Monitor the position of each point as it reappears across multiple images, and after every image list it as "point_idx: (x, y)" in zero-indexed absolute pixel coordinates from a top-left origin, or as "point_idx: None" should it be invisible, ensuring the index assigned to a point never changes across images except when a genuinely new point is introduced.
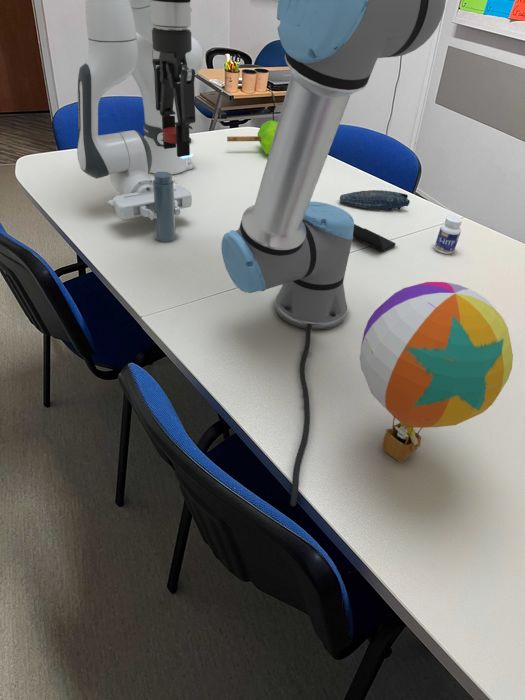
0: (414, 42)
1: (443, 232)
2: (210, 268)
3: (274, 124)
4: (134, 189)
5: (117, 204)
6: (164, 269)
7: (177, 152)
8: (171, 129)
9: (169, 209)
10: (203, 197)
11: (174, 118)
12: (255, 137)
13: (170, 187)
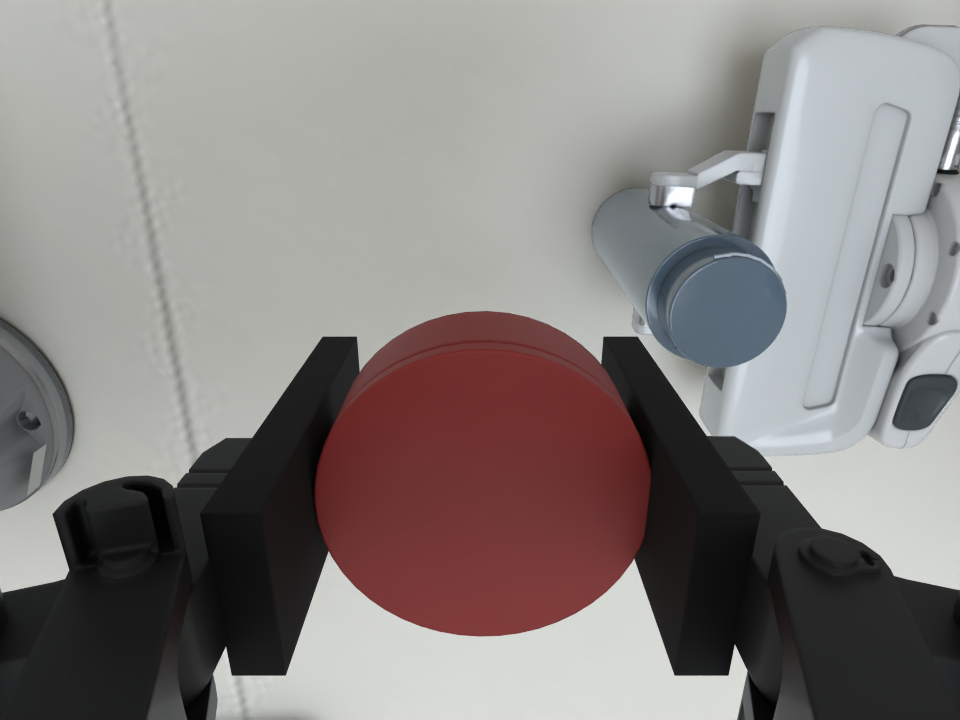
0: None
1: None
2: (321, 262)
3: None
4: (942, 207)
5: (846, 30)
6: (389, 90)
7: (338, 350)
8: (543, 482)
9: (617, 266)
10: (861, 540)
11: (667, 647)
12: None
13: (642, 311)
